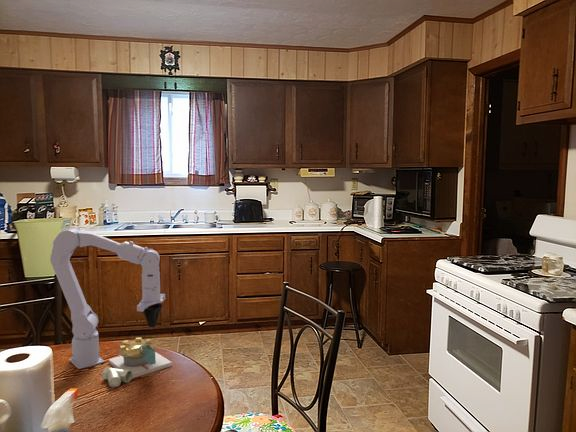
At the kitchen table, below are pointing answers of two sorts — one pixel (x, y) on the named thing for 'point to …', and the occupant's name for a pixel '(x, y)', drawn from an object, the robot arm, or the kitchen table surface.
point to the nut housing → (140, 364)
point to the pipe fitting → (116, 376)
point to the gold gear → (138, 350)
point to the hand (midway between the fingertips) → (152, 326)
